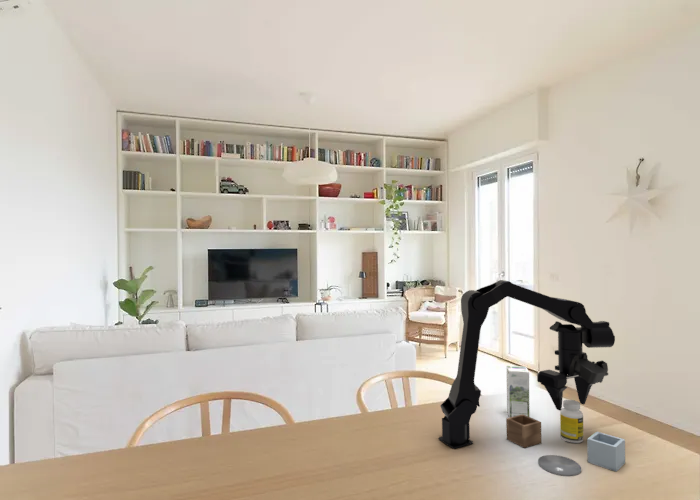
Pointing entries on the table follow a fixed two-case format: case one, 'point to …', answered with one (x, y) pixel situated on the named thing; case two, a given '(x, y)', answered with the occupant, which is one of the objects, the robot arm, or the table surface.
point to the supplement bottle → (571, 422)
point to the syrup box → (517, 391)
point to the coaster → (559, 465)
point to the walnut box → (523, 430)
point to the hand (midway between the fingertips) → (570, 406)
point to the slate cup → (606, 451)
